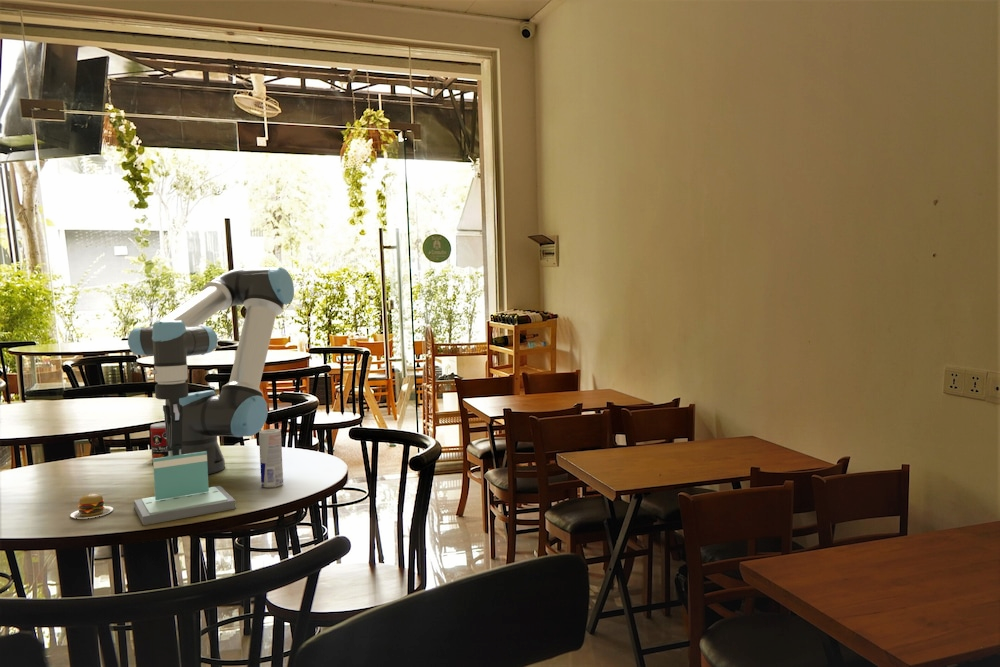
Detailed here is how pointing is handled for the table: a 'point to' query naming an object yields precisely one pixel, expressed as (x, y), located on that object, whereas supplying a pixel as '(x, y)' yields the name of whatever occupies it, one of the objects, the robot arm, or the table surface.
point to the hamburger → (91, 506)
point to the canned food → (159, 440)
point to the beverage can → (271, 458)
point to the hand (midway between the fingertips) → (175, 474)
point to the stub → (180, 475)
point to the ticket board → (183, 506)
